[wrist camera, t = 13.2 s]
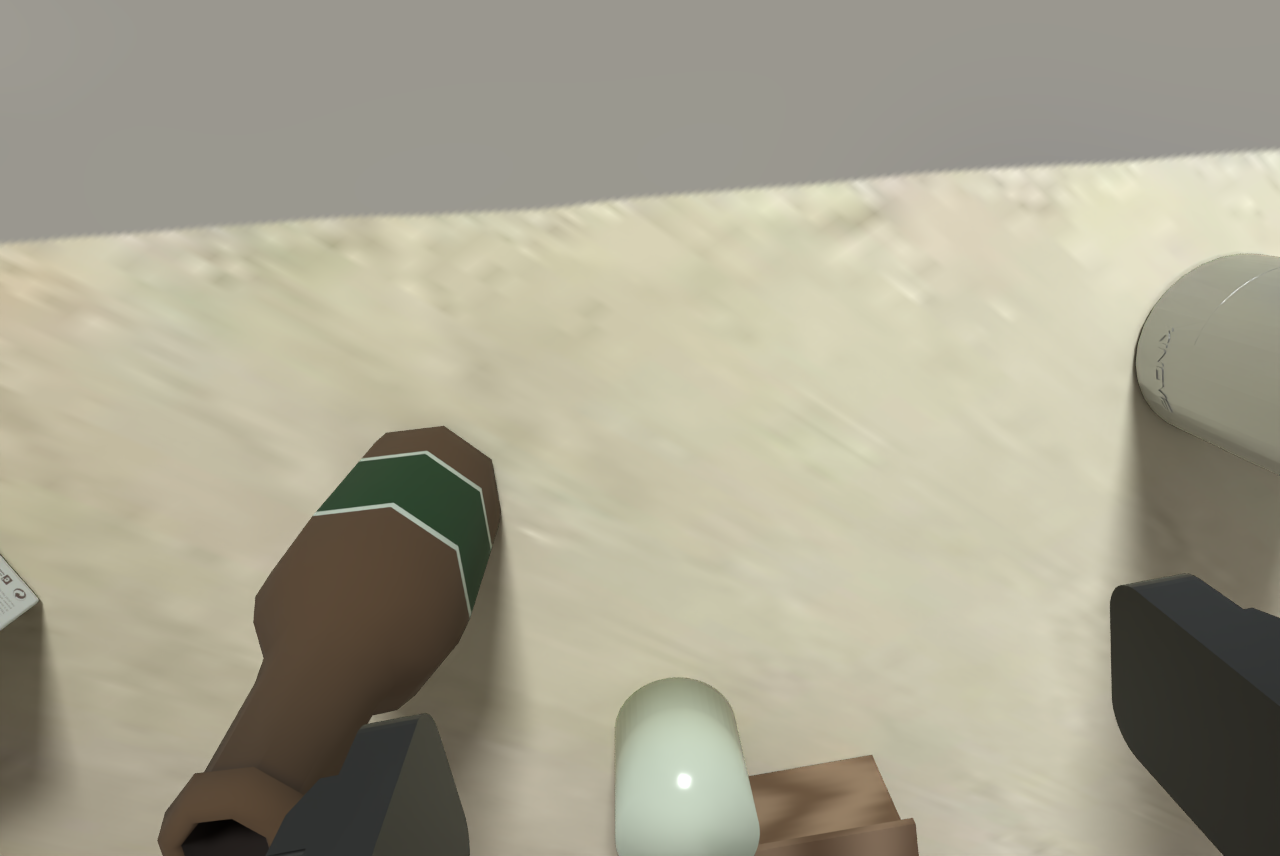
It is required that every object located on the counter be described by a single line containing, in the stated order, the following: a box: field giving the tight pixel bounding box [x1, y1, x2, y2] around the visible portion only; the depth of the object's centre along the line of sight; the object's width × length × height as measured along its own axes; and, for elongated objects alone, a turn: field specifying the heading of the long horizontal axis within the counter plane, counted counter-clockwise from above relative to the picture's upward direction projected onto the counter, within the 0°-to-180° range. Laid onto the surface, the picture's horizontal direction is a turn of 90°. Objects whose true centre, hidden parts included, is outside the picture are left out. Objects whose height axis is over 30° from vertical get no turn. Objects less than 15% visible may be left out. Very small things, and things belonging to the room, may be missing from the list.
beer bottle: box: [157, 426, 501, 856], centre depth 32 cm, size 8×8×24 cm
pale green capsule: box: [615, 678, 760, 856], centre depth 44 cm, size 7×7×8 cm
